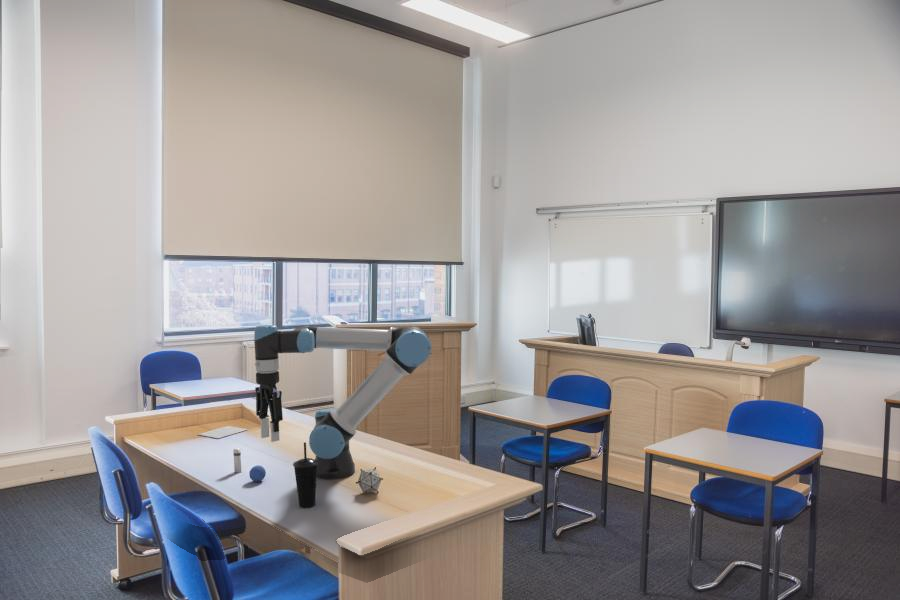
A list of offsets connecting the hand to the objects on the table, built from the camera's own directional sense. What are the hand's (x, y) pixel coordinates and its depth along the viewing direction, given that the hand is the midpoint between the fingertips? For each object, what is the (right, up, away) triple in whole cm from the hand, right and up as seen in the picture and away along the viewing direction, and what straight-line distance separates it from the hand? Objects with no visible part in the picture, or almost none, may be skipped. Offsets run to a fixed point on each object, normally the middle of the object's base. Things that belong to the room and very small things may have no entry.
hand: (270, 439), depth 225 cm
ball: (-7, -14, +8) cm, 17 cm away
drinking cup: (+16, -18, -15) cm, 28 cm away
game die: (+34, -17, -5) cm, 39 cm away
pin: (-17, -16, +19) cm, 30 cm away
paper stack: (-40, -14, +70) cm, 81 cm away
